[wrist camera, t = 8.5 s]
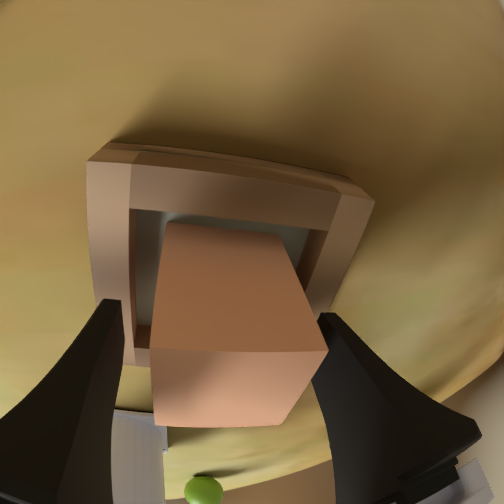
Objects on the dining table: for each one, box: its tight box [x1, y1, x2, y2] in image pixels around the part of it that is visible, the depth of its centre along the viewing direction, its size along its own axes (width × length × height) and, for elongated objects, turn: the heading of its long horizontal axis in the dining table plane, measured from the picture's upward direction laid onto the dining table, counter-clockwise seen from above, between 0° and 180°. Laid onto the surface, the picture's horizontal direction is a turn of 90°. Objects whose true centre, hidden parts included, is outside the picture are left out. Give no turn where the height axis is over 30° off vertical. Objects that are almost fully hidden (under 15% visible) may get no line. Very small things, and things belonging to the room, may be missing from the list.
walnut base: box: [86, 142, 376, 367], centre depth 13 cm, size 10×10×2 cm
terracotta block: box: [150, 222, 329, 428], centre depth 11 cm, size 4×4×6 cm
